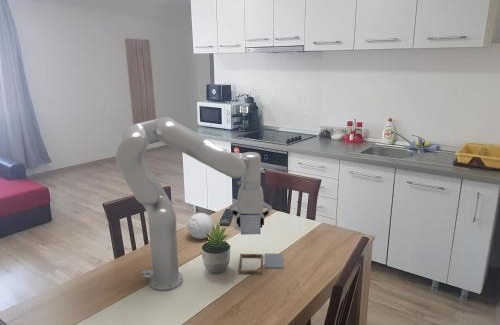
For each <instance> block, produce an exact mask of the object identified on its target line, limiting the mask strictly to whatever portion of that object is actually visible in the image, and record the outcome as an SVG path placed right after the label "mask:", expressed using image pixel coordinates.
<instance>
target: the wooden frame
mask: <svg viewBox="0 0 500 325" xmlns="http://www.w3.org/2000/svg"><path fill="white" fill-rule="evenodd" d="M263 257H264V254H263V253H240V256H239V260H238V261H239V262H238V268H237V269H238V270H237V272H238V273H237V274H238V275H240V276H241V275H243V276H244V275H245V276H247V275H249V276H253V275H254V276H262V275H264V272H263V269H264V258H263ZM243 259H260V270H259V269H258V270H256V269H255V270H253V269H252V270H250V269H249V270H248V269H242V263H243V261H242V260H243Z"/></svg>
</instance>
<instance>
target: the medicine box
mask: <svg viewBox="0 0 500 325" xmlns="http://www.w3.org/2000/svg"><path fill="white" fill-rule="evenodd" d="M260 221H261V216H260V214H240V227H241V229H240V235H242V236H243V235H246V236H247V235H261V234H262V233H261V229H262V228H261V227H260Z"/></svg>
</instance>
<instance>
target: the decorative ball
mask: <svg viewBox="0 0 500 325" xmlns="http://www.w3.org/2000/svg"><path fill="white" fill-rule="evenodd" d="M212 227H213V228H214V222H213V220H212V217H210V215H208V214H207V213H204V212H198V213H195V214H193V215H191V216H190V217H189V218H188V222H187V230H188V233H189V234H190V235H191V237H193V238H195V239H205V238H207V237H208V236H206V234H209V233H210V232H211V231H212V232H213V230H212ZM212 232H211V233H212ZM211 233H210V234H211Z"/></svg>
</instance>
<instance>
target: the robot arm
mask: <svg viewBox="0 0 500 325" xmlns="http://www.w3.org/2000/svg"><path fill="white" fill-rule="evenodd" d="M160 142H161V143H162V144H165V145H166V146H168V147H171V148H173V149H175V150H177V151H179V152H180V153H183V154H185V155H186V156H189V157H191V158H192V159H195V160H196V161H198V162H199V163H201V164H204V165H206V166H207V167H210V168H212V169H213V170H215V171H217V172H218V173H220V174H223V175H225V176H227V177H229V178H231V179H240V180H239V181H237V182H236V185H238V186H239V188H238V192H237V201H235V202H234V203H232V204H230V205H229V207H228V208H229V210H230V211H231V213H232V214H233V216H234V215H235V216H236V218H237V224H238V227H240V214H260V227H261V229H262V228H263V226H264V225H265V218H266V217H267V216H268V215H269V214H270V213H271V211H272V209H273V206H271V205H270V204H268V203H266V202H265V201H264V191H263V187H262V186H261V172H262V171H261V168H262V167H261V166H262V165H261V164H262V161H261V160H262V158H261V157H262V156H261V154H260V153H258V152H255V151H249V152H248V151H247V152H242V153H241V152H228V151H227V150H224V149H222V148H221V147H220V146H218V145H216V144H215V143H213V141H211V140H210V139H209V138H208V137H205V136H204V135H202V134H199V132H196V131H195V130H192V129H191V128H188V127H187V126H184V125H182V124H181V123H179V122H177V121H176V120H174V118H171V117H169V116H168V117H167V116H166V117H164V116H163V117H159V118H155V119H154V118H153V119H152V120H147V121H143V122H138V123H135V124H132V125H128V126H127V127H126V128H125V129H124V130H123V132H122V139H121V141H120V143H119V145H118V147H117V150H116V154H115V155H116V156H115V162H116V165H117V167H118V170H119V171H120V173H121V175H122V178H124V181H125V183H126V184H127V186H128V187H129V189H130V191H131V193H132V194H133V197H134V198H135V199H136V201H137V202H138V203H139V204H142V205H143V207H144V209H145V211H146V216H147V220H148V227H149V228H148V229H149V243H150V245H149V246H150V253H151V254H150V255H151V266H152V269H143V270H142V272H141V273H142V274H141V275H142V276H143V279H149V280H148V281H149V282H148V283H149V287H150V288H152V289H154V291H155V290H156V291H159V292H164V291H171V290H174V289H176V288H178V287H179V286H180V285H182V283H183V282H184V275H183V274H182V272H180V271H179V258H178V257H179V256H178V254H179V253H178V238H177V214H176V212H175V209H174V206H173V204H172V202H171V200H170V198H169V197H168V196H169V195H167V192H166V191H165V189H164V188H163V186H162V184H161V182H160V180H159V179H158V178H157V176H156V175H155V174H153V173H152V172H150V170H149V167H148V165H147V164H146V162H145V161H144V154H145V153H146V150H147V149H148V147H149V145H151V144H152V145H153V144H155V143H160ZM236 206H237V210H238V212H237V211H236V210H235V209H234V207H236ZM264 208H266V210H265V211H264Z"/></svg>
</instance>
